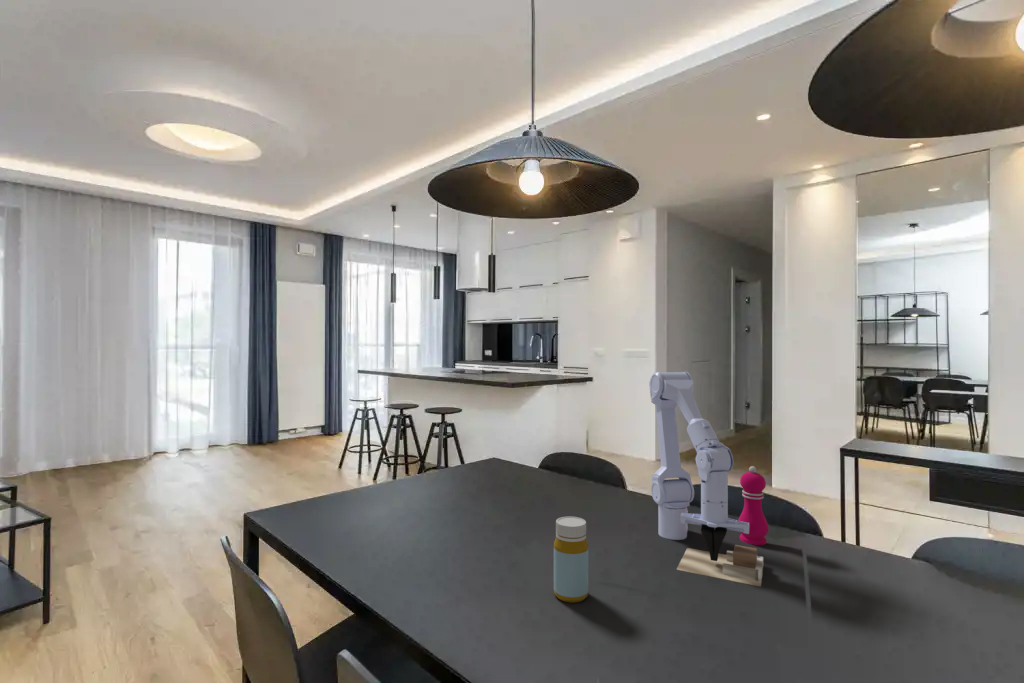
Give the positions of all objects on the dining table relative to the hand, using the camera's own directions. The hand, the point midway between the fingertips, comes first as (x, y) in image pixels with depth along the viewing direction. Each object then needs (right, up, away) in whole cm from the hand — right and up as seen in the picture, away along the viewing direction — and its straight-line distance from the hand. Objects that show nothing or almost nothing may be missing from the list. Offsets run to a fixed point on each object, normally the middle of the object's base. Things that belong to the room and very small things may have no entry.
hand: (714, 559), depth 117 cm
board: (+1, -2, -1) cm, 3 cm away
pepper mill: (+16, -3, +15) cm, 22 cm away
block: (+6, -1, -3) cm, 7 cm away
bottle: (-34, -2, -13) cm, 37 cm away
